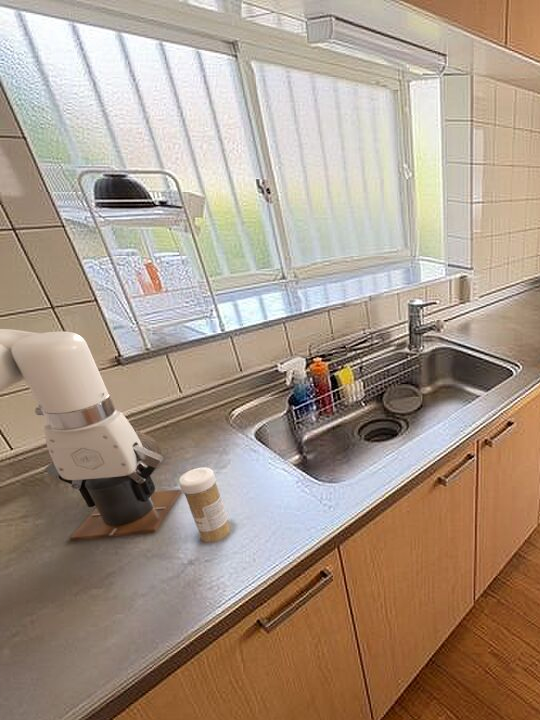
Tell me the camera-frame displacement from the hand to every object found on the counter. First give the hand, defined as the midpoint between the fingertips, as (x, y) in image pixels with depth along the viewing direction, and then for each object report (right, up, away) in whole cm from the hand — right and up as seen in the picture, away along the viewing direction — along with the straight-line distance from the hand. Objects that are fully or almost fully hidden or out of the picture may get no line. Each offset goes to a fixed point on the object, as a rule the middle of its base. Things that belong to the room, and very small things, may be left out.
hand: (122, 498), depth 73 cm
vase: (-9, +2, +14) cm, 17 cm away
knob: (0, -3, +1) cm, 3 cm away
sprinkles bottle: (+17, -7, 0) cm, 18 cm away
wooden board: (0, -4, +2) cm, 5 cm away
